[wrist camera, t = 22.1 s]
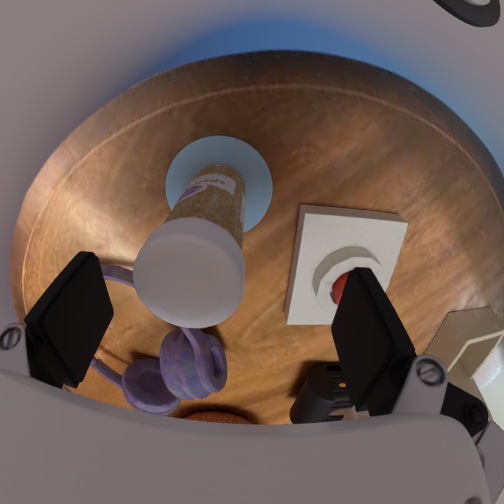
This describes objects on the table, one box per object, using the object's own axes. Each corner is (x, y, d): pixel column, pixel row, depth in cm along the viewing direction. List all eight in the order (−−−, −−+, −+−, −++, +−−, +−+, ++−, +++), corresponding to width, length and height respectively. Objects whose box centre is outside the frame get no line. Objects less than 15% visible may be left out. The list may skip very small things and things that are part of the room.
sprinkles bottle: (218, 151, 20) (175, 210, 8) (258, 190, 22) (270, 293, 10) (180, 190, 22) (110, 287, 10) (218, 226, 23) (193, 346, 12)
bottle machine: (448, 312, 30) (500, 395, 17) (490, 306, 31) (536, 371, 17) (413, 369, 37) (444, 444, 23) (457, 358, 37) (489, 421, 23)
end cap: (303, 360, 33) (311, 402, 27) (351, 359, 34) (364, 398, 28) (286, 397, 38) (291, 433, 32) (328, 395, 39) (335, 430, 33)
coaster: (165, 136, 20) (163, 136, 19) (276, 138, 20) (277, 138, 20) (169, 235, 24) (168, 237, 24) (268, 238, 24) (268, 240, 24)
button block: (300, 203, 23) (309, 222, 19) (397, 213, 23) (418, 231, 20) (284, 310, 29) (288, 337, 25) (367, 309, 29) (378, 333, 26)
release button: (337, 269, 22) (343, 281, 20) (374, 270, 22) (381, 281, 21) (328, 302, 24) (333, 315, 22) (363, 301, 24) (369, 313, 22)
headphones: (253, 342, 30) (121, 219, 26) (246, 398, 23) (72, 249, 18) (168, 392, 36) (67, 306, 32) (151, 434, 29) (34, 339, 24)
